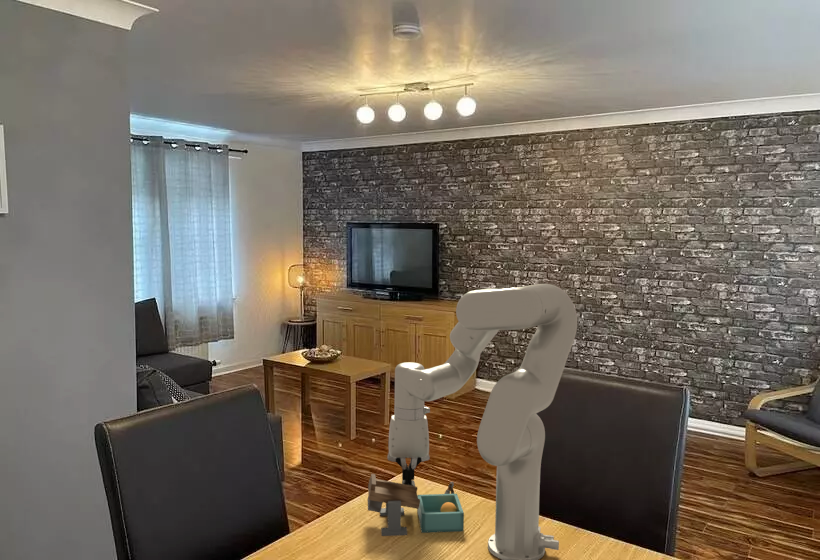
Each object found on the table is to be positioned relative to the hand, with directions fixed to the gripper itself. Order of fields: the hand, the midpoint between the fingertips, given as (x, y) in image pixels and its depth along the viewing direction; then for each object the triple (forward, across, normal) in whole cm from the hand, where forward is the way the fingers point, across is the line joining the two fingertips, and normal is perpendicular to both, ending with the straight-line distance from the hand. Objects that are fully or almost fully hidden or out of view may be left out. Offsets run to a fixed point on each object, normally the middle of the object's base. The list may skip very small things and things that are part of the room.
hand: (408, 482), depth 159 cm
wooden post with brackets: (+7, -10, -2) cm, 13 cm away
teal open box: (+7, -7, +8) cm, 12 cm away
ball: (+4, -9, +8) cm, 13 cm away
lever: (+3, +5, +5) cm, 8 cm away
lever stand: (+7, +4, +8) cm, 11 cm away
